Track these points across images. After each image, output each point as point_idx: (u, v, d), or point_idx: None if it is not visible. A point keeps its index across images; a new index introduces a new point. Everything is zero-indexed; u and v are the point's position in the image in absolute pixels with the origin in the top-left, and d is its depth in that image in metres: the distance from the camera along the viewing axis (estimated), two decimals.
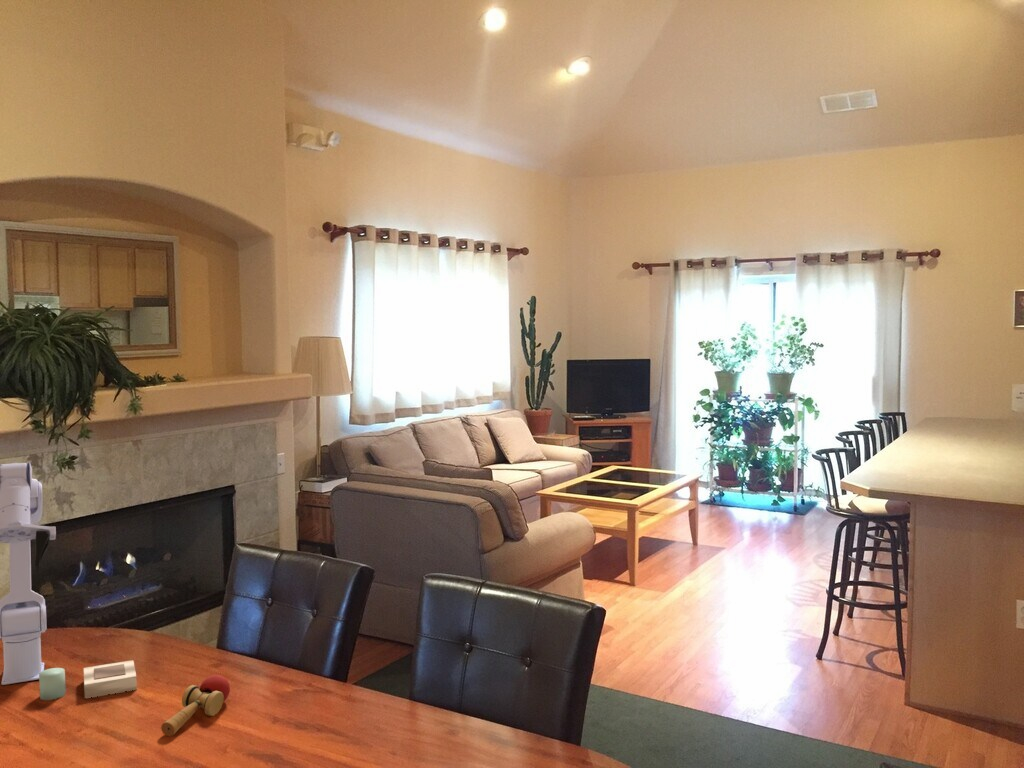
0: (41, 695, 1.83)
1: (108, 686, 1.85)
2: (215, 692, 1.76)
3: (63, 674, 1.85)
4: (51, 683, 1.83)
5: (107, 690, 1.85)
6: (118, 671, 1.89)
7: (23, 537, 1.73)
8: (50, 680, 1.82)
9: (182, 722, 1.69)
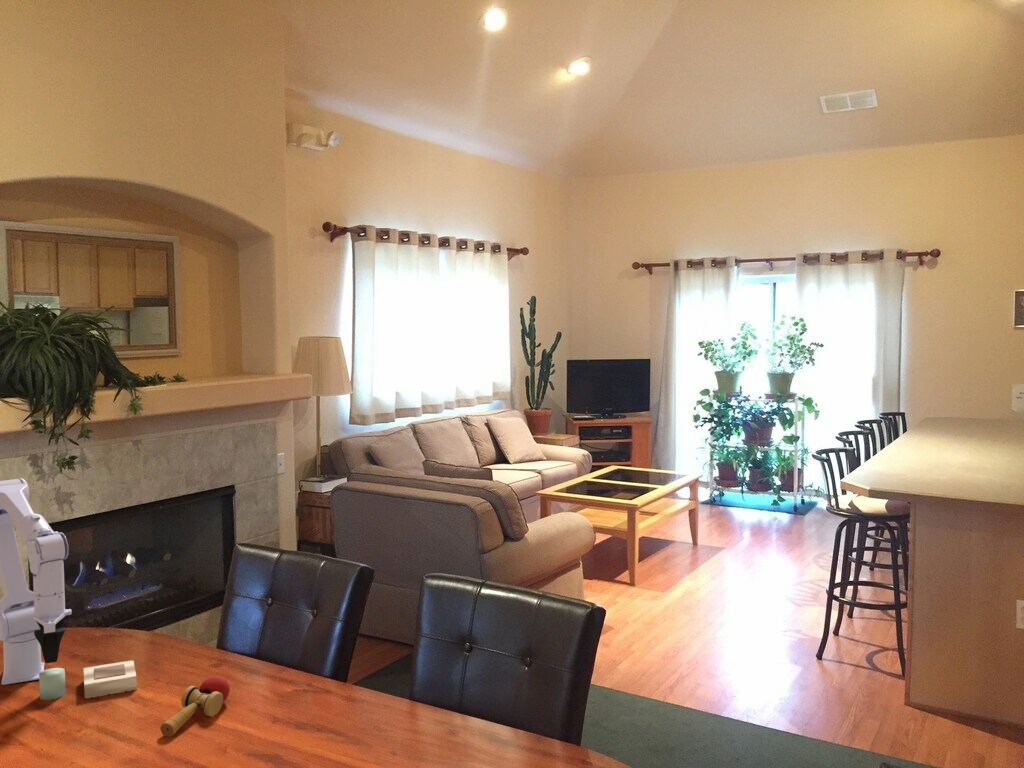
0: (41, 695, 1.83)
1: (108, 686, 1.85)
2: (214, 693, 1.75)
3: (63, 674, 1.85)
4: (51, 683, 1.83)
5: (107, 690, 1.85)
6: (118, 671, 1.89)
7: None
8: (50, 680, 1.82)
9: (181, 723, 1.69)
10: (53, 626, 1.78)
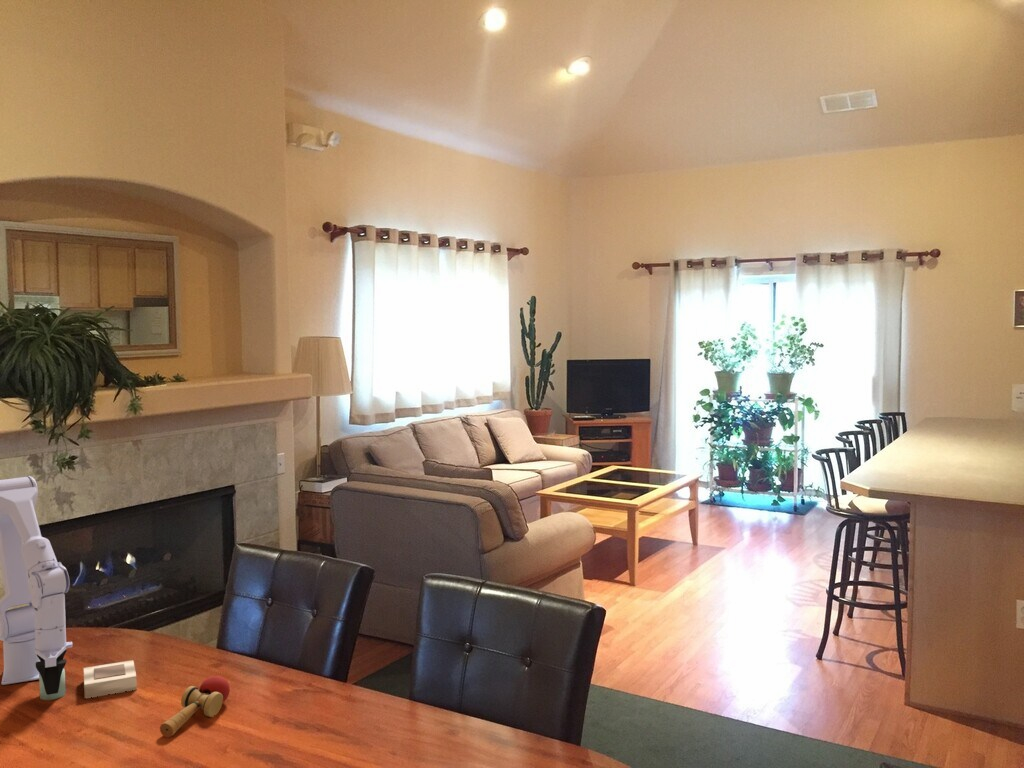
0: (41, 695, 1.83)
1: (108, 686, 1.85)
2: (214, 693, 1.75)
3: (63, 674, 1.85)
4: None
5: (107, 690, 1.85)
6: (118, 671, 1.89)
7: None
8: None
9: (181, 723, 1.69)
10: (54, 660, 1.78)
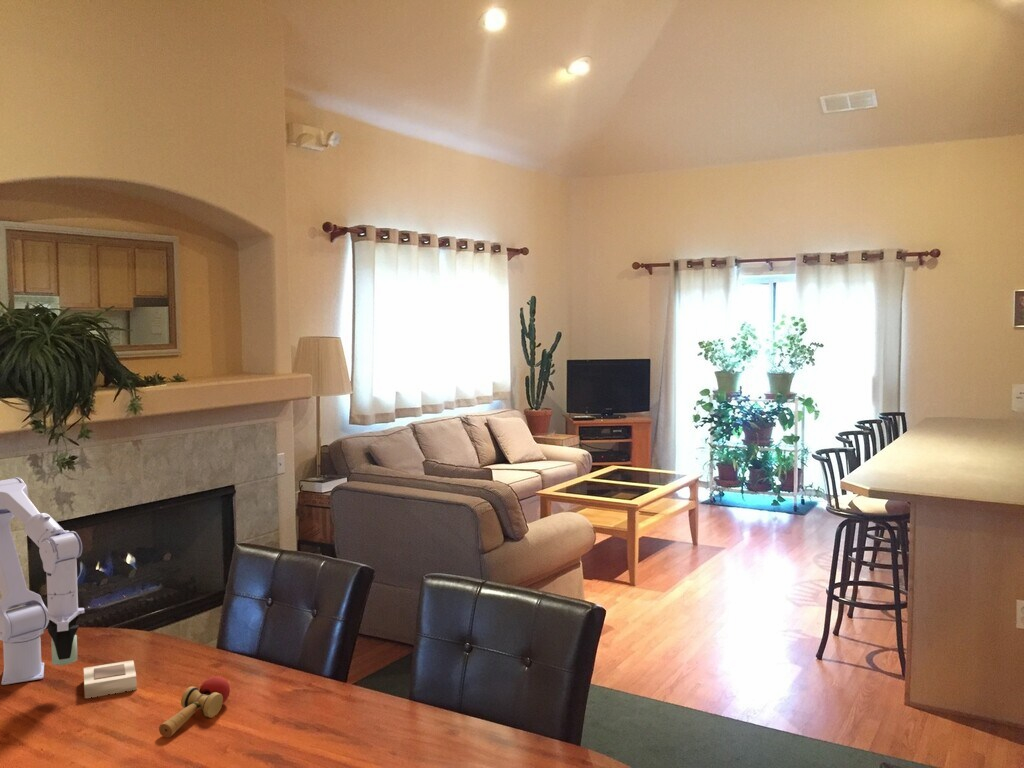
0: (53, 660, 1.83)
1: (108, 686, 1.85)
2: (214, 694, 1.75)
3: (75, 639, 1.85)
4: None
5: (107, 690, 1.85)
6: (118, 671, 1.89)
7: None
8: None
9: (180, 724, 1.68)
10: (66, 624, 1.79)
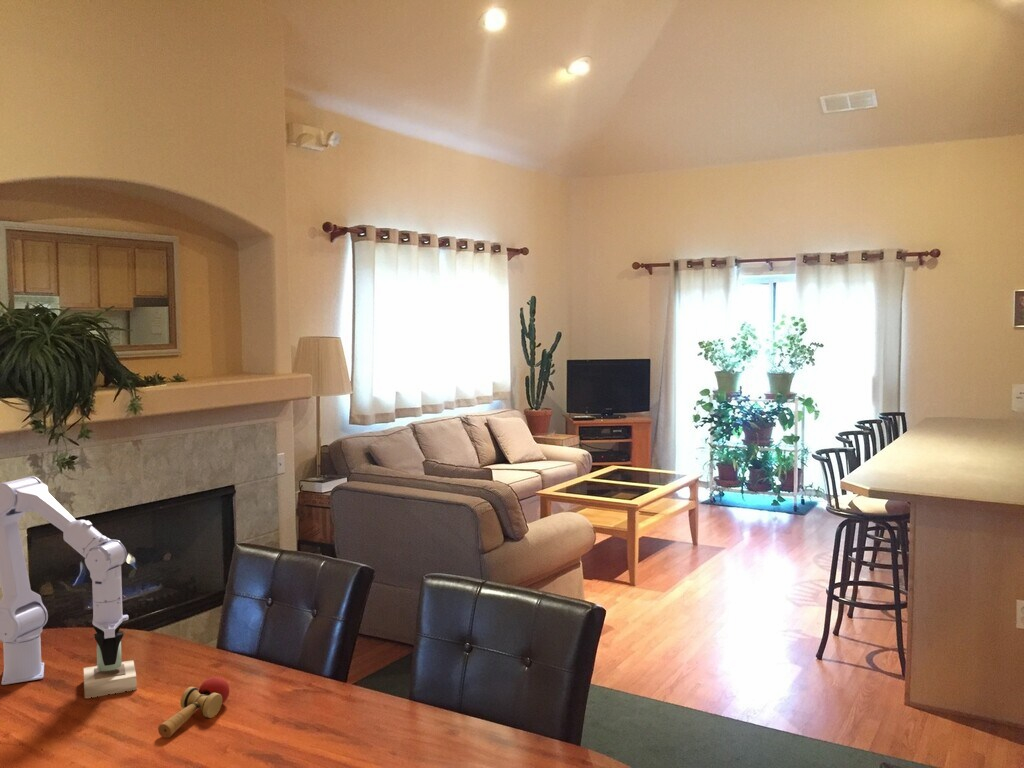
0: (99, 666, 1.87)
1: (108, 686, 1.85)
2: (213, 694, 1.75)
3: (120, 646, 1.89)
4: None
5: (107, 690, 1.85)
6: (118, 671, 1.89)
7: None
8: None
9: (179, 724, 1.68)
10: (113, 631, 1.83)
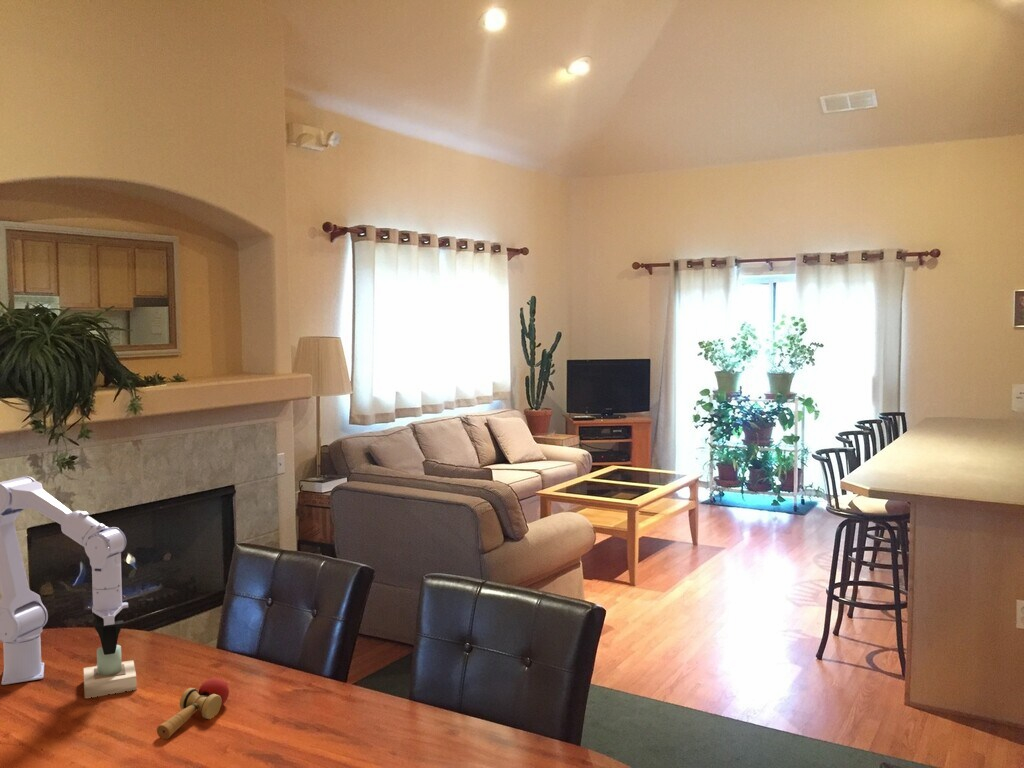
0: (99, 670, 1.88)
1: (108, 686, 1.85)
2: (212, 695, 1.74)
3: (120, 650, 1.89)
4: (109, 659, 1.87)
5: (107, 690, 1.85)
6: None
7: None
8: (108, 656, 1.87)
9: (178, 725, 1.68)
10: (112, 618, 1.82)
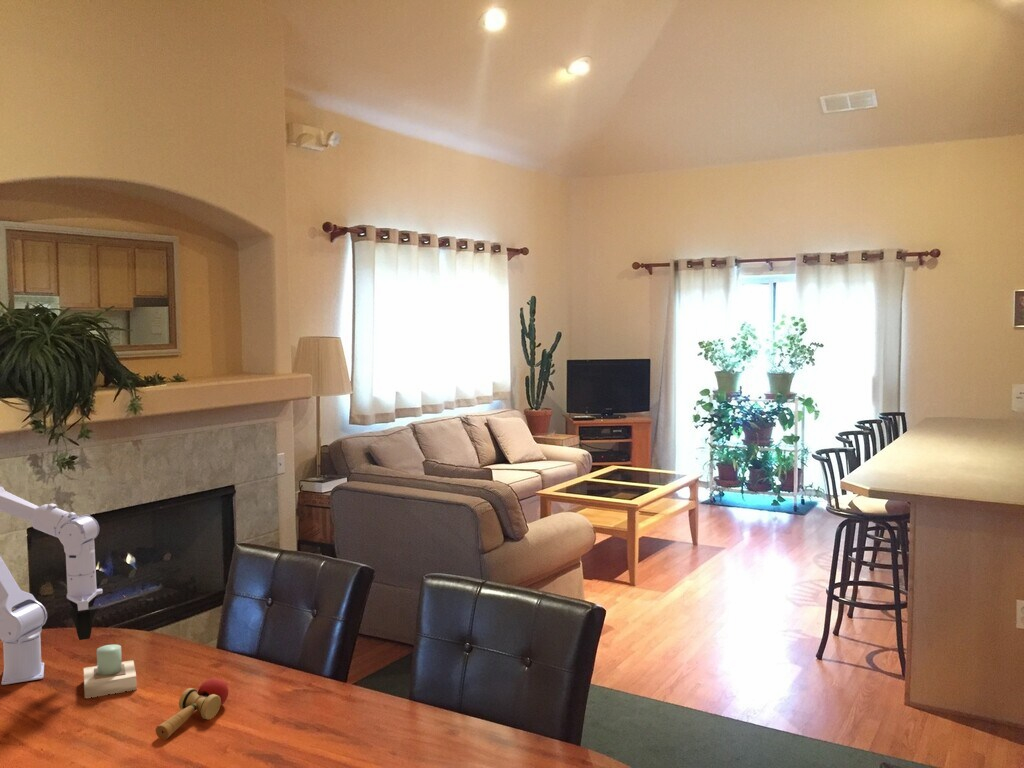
0: (99, 670, 1.88)
1: (108, 686, 1.85)
2: (212, 696, 1.74)
3: (120, 650, 1.89)
4: (109, 659, 1.87)
5: (107, 690, 1.85)
6: None
7: None
8: (108, 656, 1.87)
9: (177, 725, 1.68)
10: (86, 604, 1.85)
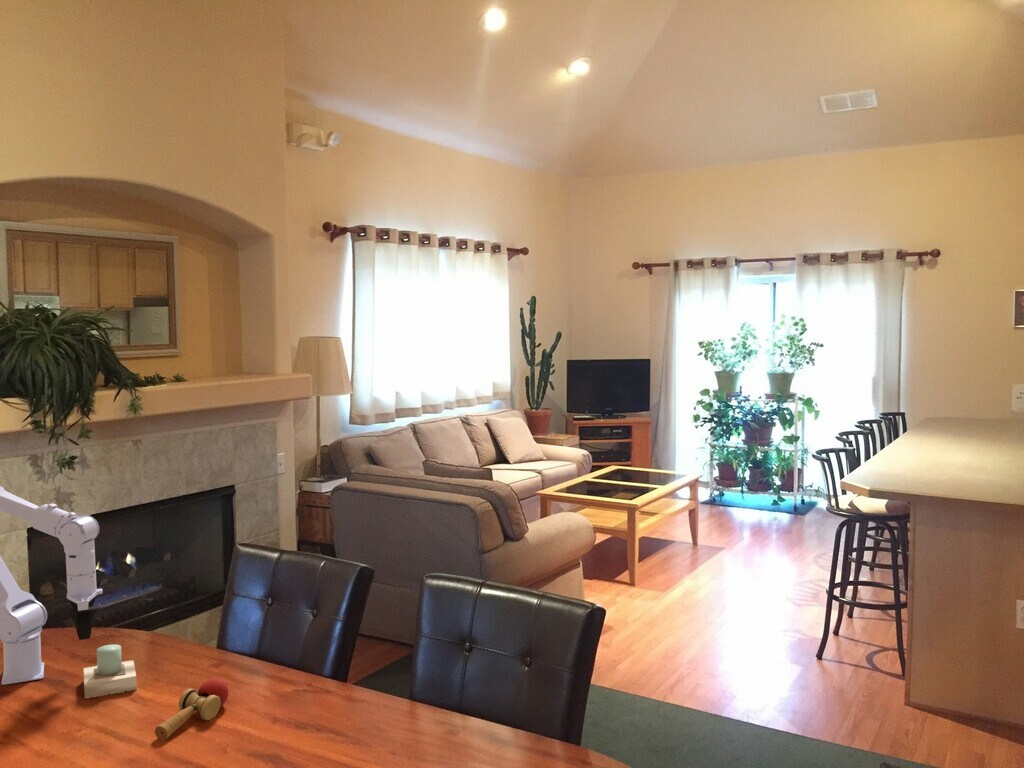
0: (99, 670, 1.88)
1: (108, 686, 1.85)
2: (211, 696, 1.74)
3: (120, 650, 1.89)
4: (109, 659, 1.87)
5: (107, 690, 1.85)
6: None
7: None
8: (108, 656, 1.87)
9: (176, 726, 1.67)
10: (86, 604, 1.85)
